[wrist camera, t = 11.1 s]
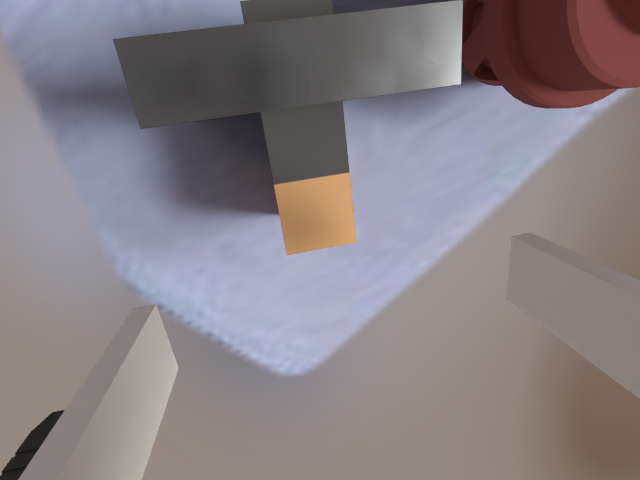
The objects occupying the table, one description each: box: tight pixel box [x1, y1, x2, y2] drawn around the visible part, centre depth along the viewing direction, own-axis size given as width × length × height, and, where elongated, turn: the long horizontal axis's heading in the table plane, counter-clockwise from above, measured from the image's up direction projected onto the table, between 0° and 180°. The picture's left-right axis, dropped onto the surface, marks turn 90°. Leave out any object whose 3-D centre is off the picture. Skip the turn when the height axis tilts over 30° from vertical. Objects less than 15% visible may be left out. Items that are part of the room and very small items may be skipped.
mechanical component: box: [462, 0, 640, 108], centre depth 19 cm, size 12×10×10 cm
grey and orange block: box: [240, 0, 356, 255], centre depth 21 cm, size 12×4×8 cm, turn 8°
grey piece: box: [113, 0, 463, 129], centre depth 18 cm, size 3×13×11 cm, turn 98°
